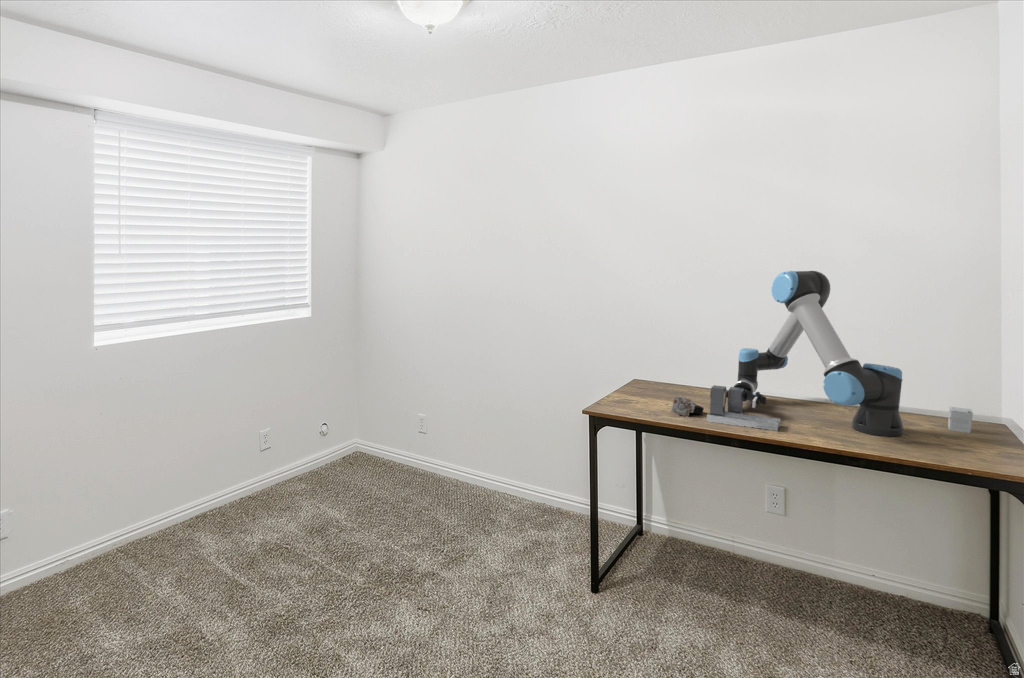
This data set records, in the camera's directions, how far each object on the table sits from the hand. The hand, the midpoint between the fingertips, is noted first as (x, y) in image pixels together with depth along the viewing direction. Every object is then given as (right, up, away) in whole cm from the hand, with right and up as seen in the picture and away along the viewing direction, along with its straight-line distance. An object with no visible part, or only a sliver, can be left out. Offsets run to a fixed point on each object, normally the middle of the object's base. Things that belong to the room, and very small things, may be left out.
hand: (734, 401), depth 213 cm
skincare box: (+74, -9, -13) cm, 76 cm away
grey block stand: (+1, -7, -5) cm, 9 cm away
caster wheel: (-15, -6, +9) cm, 18 cm away
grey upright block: (+2, -6, +3) cm, 7 cm away
